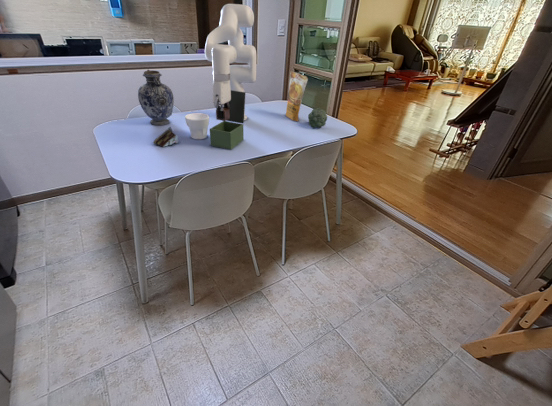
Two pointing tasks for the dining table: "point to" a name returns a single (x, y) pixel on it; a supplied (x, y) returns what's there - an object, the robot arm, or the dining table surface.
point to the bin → (226, 135)
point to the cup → (197, 124)
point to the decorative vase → (156, 98)
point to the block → (226, 114)
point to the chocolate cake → (166, 138)
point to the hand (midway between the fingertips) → (223, 116)
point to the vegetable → (317, 118)
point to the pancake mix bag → (295, 94)
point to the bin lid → (237, 106)
